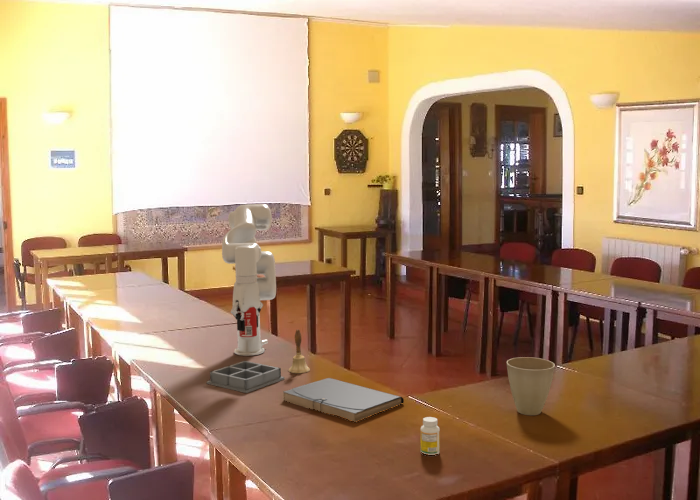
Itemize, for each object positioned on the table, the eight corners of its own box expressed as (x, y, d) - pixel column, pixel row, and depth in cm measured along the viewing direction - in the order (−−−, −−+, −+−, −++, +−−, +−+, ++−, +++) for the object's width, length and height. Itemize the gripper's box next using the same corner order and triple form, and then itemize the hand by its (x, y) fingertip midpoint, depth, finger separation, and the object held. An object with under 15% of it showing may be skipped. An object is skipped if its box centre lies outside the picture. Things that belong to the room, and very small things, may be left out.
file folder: (282, 390, 259) (332, 375, 277) (282, 402, 260) (332, 387, 277) (354, 412, 237) (403, 394, 254) (354, 425, 237) (403, 406, 255)
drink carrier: (245, 370, 296) (245, 359, 296) (284, 379, 285) (284, 367, 284) (206, 383, 280) (206, 372, 280) (246, 393, 269) (246, 381, 268)
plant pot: (527, 422, 236) (527, 372, 234) (496, 408, 249) (496, 360, 247) (564, 414, 242) (565, 365, 240) (532, 401, 256) (533, 354, 253)
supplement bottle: (432, 458, 210) (432, 424, 208) (416, 453, 213) (416, 419, 212) (443, 452, 214) (443, 418, 213) (427, 447, 217) (427, 414, 216)
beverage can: (258, 336, 282) (257, 303, 281) (255, 340, 276) (254, 307, 274) (241, 336, 283) (240, 303, 281) (237, 340, 276) (236, 307, 275)
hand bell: (284, 372, 294) (283, 331, 292) (294, 366, 301) (293, 326, 299) (304, 374, 291) (303, 333, 289) (313, 368, 298) (312, 328, 296)
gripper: (255, 275, 286) (256, 323, 288) (221, 282, 272) (223, 332, 274) (270, 277, 281) (271, 325, 283) (236, 284, 267) (238, 334, 270)
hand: (247, 328), depth 279 cm, fingers closed on beverage can, 6 cm apart
